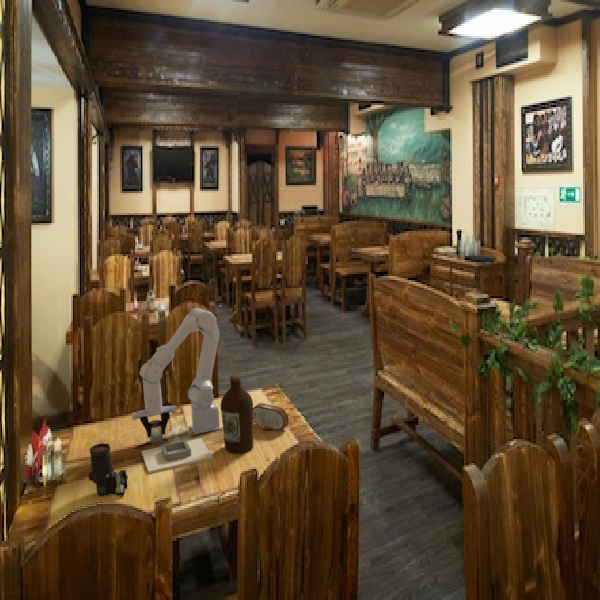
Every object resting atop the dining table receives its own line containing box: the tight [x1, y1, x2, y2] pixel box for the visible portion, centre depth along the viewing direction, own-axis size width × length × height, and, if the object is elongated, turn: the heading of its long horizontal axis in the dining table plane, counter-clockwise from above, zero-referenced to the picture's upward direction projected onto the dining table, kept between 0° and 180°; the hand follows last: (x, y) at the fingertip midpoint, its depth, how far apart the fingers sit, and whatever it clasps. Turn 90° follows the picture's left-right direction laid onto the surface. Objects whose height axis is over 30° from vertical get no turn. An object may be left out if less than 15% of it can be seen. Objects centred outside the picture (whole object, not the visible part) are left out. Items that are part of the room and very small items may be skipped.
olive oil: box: [220, 374, 254, 455], centre depth 172 cm, size 11×11×25 cm
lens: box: [149, 419, 164, 445], centre depth 180 cm, size 4×4×7 cm
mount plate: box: [141, 437, 213, 474], centre depth 170 cm, size 20×15×3 cm
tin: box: [253, 402, 290, 431], centre depth 189 cm, size 15×3×8 cm, turn 58°
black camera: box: [87, 442, 129, 498], centre depth 148 cm, size 8×14×10 cm
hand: (156, 435), depth 181 cm, fingers closed on lens, 4 cm apart
